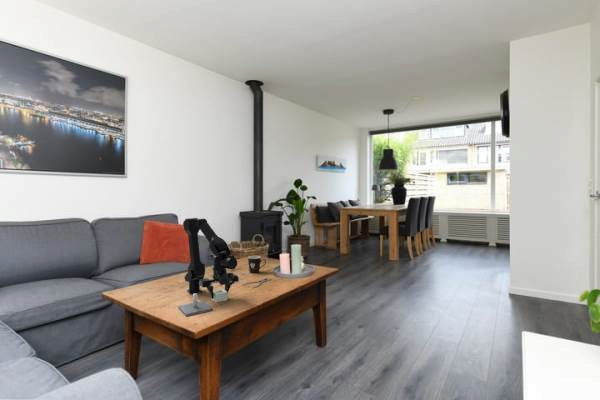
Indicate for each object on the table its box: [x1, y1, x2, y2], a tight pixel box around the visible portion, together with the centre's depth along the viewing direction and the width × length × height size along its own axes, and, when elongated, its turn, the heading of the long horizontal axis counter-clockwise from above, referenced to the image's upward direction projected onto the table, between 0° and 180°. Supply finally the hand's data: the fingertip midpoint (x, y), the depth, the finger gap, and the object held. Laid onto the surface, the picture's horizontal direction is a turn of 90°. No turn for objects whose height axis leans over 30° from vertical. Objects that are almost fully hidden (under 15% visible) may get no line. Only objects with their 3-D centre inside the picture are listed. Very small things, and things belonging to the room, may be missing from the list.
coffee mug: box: [247, 255, 267, 274], centre depth 211 cm, size 12×9×10 cm
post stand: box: [177, 292, 214, 317], centre depth 145 cm, size 12×12×7 cm
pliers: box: [241, 277, 272, 289], centre depth 188 cm, size 10×1×20 cm
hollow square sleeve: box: [210, 288, 228, 303], centre depth 158 cm, size 6×6×4 cm
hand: (219, 297), depth 158 cm, fingers open, 7 cm apart
